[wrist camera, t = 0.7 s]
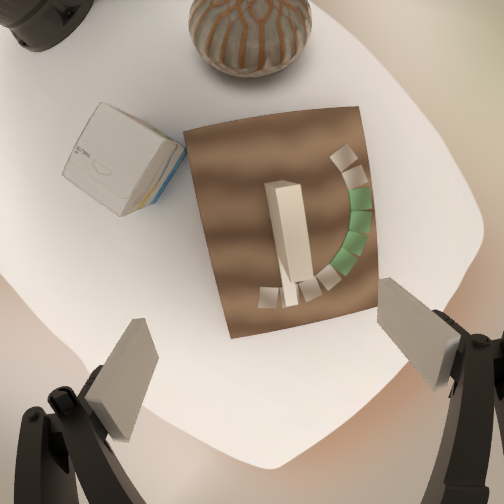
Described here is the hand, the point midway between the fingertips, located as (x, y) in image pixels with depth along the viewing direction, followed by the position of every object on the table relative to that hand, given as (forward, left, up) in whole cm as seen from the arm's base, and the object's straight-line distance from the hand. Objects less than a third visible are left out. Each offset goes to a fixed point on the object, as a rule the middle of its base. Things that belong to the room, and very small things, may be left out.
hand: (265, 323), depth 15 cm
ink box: (-12, -11, -23) cm, 29 cm away
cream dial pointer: (+2, +4, -20) cm, 21 cm away
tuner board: (0, +6, -23) cm, 24 cm away
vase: (-25, +4, -23) cm, 34 cm away
